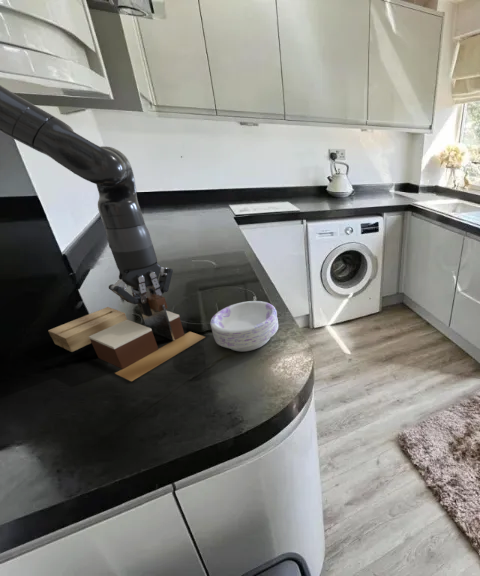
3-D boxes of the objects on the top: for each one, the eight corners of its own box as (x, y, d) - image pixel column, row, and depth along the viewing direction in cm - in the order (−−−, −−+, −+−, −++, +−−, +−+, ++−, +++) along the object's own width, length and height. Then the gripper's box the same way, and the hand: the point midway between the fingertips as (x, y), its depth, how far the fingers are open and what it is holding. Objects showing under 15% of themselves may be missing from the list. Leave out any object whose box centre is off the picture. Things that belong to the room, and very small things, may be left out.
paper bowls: (218, 331, 86) (212, 305, 83) (277, 320, 92) (273, 296, 88) (214, 365, 74) (207, 337, 70) (283, 351, 79) (279, 324, 76)
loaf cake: (98, 358, 74) (88, 336, 71) (134, 339, 80) (127, 319, 78) (122, 369, 71) (113, 347, 68) (158, 349, 77) (151, 328, 75)
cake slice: (150, 332, 84) (143, 311, 81) (161, 326, 86) (155, 306, 84) (173, 341, 80) (167, 320, 78) (184, 335, 83) (179, 314, 80)
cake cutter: (177, 338, 81) (166, 297, 76) (170, 342, 79) (157, 300, 74) (152, 328, 84) (139, 288, 79) (144, 332, 83) (130, 292, 78)
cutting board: (78, 358, 75) (77, 355, 75) (155, 321, 90) (154, 318, 89) (132, 385, 68) (131, 381, 67) (206, 340, 83) (205, 336, 82)
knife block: (73, 355, 76) (65, 338, 74) (56, 347, 79) (47, 330, 76) (131, 328, 87) (124, 312, 84) (114, 322, 89) (107, 306, 87)
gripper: (106, 257, 64) (133, 330, 72) (172, 239, 76) (190, 304, 83) (85, 251, 67) (113, 322, 74) (152, 235, 78) (170, 298, 86)
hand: (153, 312), depth 79 cm, fingers closed on cake cutter, 2 cm apart
